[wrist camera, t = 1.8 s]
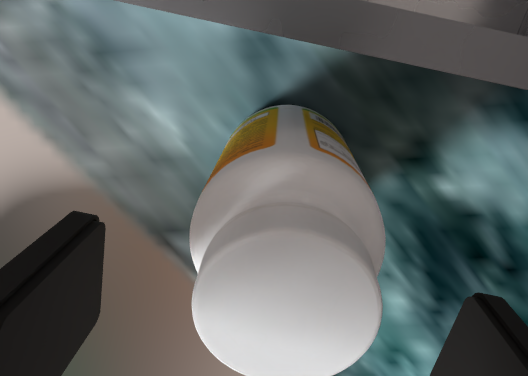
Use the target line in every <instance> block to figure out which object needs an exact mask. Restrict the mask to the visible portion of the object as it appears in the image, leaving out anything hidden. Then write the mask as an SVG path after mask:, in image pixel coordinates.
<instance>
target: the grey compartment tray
mask: <svg viewBox="0 0 528 376" xmlns="http://www.w3.org/2000/svg"><path fill="white" fill-rule="evenodd" d="M115 1H120V2H124V3H129V4H133V5H138V6H143V7H147V8H152V9H156V10H161V11H166V12H170V13H175V14H180V15H184V16H189V17H193V18H198V19H203V20H207V21H212V22H216V23H221V24H226V25H230V26H235V27H239V28H244V29H249V30H253V31H258V32H263V33H267V34H272V35H276V36H281V37H286V38H290V39H295V40H299V41H304V42H309V43H313V44H318V45H322V46H327V47H332V48H336V49H341V50H346V51H350V52H355V53H359V54H364V55H369V56H373V57H378V58H382V59H387V60H392V61H396V62H401V63H405V64H410V65H415V66H419V67H424V68H429V69H433V70H438V71H442V72H447V73H452V74H456V75H461V76H465V77H470V78H475V79H479V80H484V81H488V82H493V83H498V84H502V85H507V86H512V87H516V88H521V89H525V90H528V0H115Z"/></svg>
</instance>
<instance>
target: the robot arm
mask: <svg viewBox="0 0 528 376" xmlns="http://www.w3.org/2000/svg"><path fill="white" fill-rule="evenodd" d="M104 241H105V224H104V223H103V222H99V217H98V216H97V215H92V214H87V213H83V212H77V211H73V212H71V213H69V214H68V215H67V216H66V217H65V218H63V219H62V220H61V221H59V222H58V223H57V224H56V225H55V226H53V227H52V228H51V229H49V230H48V231H47V232H46V233H44V234H43V235H42V236H41V237H39V238H38V239H37V240H36V241H35V242H33V243H32V244H31V245H30V246H28V247H27V248H26V249H25V250H23V251H22V252H21V253H20V254H18V255H17V256H16V257H15V258H13V259H12V260H11V261H10V262H8V263H7V264H6V265H5V266H3V267H2V268H1V269H0V376H61V375H62V374H63V372H64V371H65V369H66V368H67V366H68V364H69V363H70V362H71V360H72V359H73V357H74V355H75V354H76V352H77V351H78V350H79V348H80V346H81V345H82V343H83V342H84V340H85V339H86V338H87V336H88V335H89V333H90V331H91V330H92V329H93V327H94V326H95V324H96V322H97V320H98V317H99V314H100V305H101V291H102V274H103V258H104V243H105V242H104ZM430 376H528V327H527V325H526V324H525V323H524V322H523V321H522V320H521V318H520V317H519V316H518V315H517V314H516V313H515V311H514V310H513V309H512V308H511V307H510V306H509V304H508V303H507V302H506V301H505V300H504V299H503V298H502V297H498V296H493V295H488V294H483V293H475V294H474V295H473V296H472V297H468V298H466V299H465V301H464V303H463V305H462V307H461V309H460V312H459V314H458V316H457V318H456V320H455V322H454V324H453V327H452V329H451V331H450V333H449V335H448V337H447V339H446V342H445V344H444V346H443V348H442V350H441V352H440V354H439V357H438V359H437V361H436V363H435V365H434V367H433V369H432V372H431V374H430Z"/></svg>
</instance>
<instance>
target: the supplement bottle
mask: <svg viewBox="0 0 528 376" xmlns="http://www.w3.org/2000/svg"><path fill="white" fill-rule="evenodd" d="M190 250H191V255H192V259H193V262H194V265H195V268H196V271H197V273H198V275H197V278H196V281H195V285H194V289H193V295H192V314H193V319H194V323H195V327H196V329H197V332H198V334H199V336H200V338H201V339H202V341H203V342H204V344H205V345H206V347H207V348H208V349H209V350H210V352H211V353H212V354H213V355H214V356H215V357H216V358H218V359H219V360H220V361H221V362H222V363H224V364H225V365H227V366H228V367H230V368H231V369H233V370H235V371H237V372H239V373H241V374H243V375H246V376H332V375H334V374H336V373H338V372H340V371H343V370H344V369H346V368H347V367H349V366H350V365H352V364H353V363H354V362H356V361H357V360H358V359H359V358H360V357H361V356H362V355H363V354H364V353H365V352H366V351H367V349H368V348H369V347H370V345H371V344H372V343H373V341H374V339H375V337H376V335H377V332H378V330H379V327H380V323H381V318H382V308H383V305H382V297H381V291H380V287H379V284H378V280H377V276H378V274H379V271H380V268H381V265H382V262H383V259H384V253H385V229H384V224H383V219H382V216H381V213H380V210H379V207H378V204H377V202H376V199H375V197H374V195H373V193H372V191H371V189H370V187H369V185H368V183H367V182H366V180H365V178H364V176H363V174H362V172H361V170H360V168H359V167H358V165H357V163H356V161H355V159H354V157H353V155H352V153H351V151H350V149H349V148H348V146H347V144H346V142H345V140H344V138H343V137H342V135H341V134H340V132H339V131H338V130H337V128H336V127H335V126H334V125H333V124H332V123H331V122H330V121H329V120H328V119H326V118H325V117H324V116H322V115H321V114H319V113H317V112H315V111H313V110H311V109H308V108H305V107H301V106H296V105H278V106H272V107H269V108H266V109H263V110H260V111H258V112H256V113H254V114H253V115H251V116H250V117H248V118H247V119H245V120H244V121H243V122H242V123H241V124H240V125H239V126H238V127H237V128H236V130H235V131H234V132H233V134H232V135H231V137H230V139H229V140H228V142H227V144H226V146H225V148H224V150H223V152H222V154H221V156H220V158H219V160H218V162H217V164H216V166H215V168H214V170H213V172H212V174H211V176H210V178H209V180H208V181H207V183H206V185H205V187H204V189H203V191H202V193H201V195H200V197H199V199H198V202H197V204H196V207H195V210H194V213H193V216H192V220H191V225H190Z"/></svg>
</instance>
